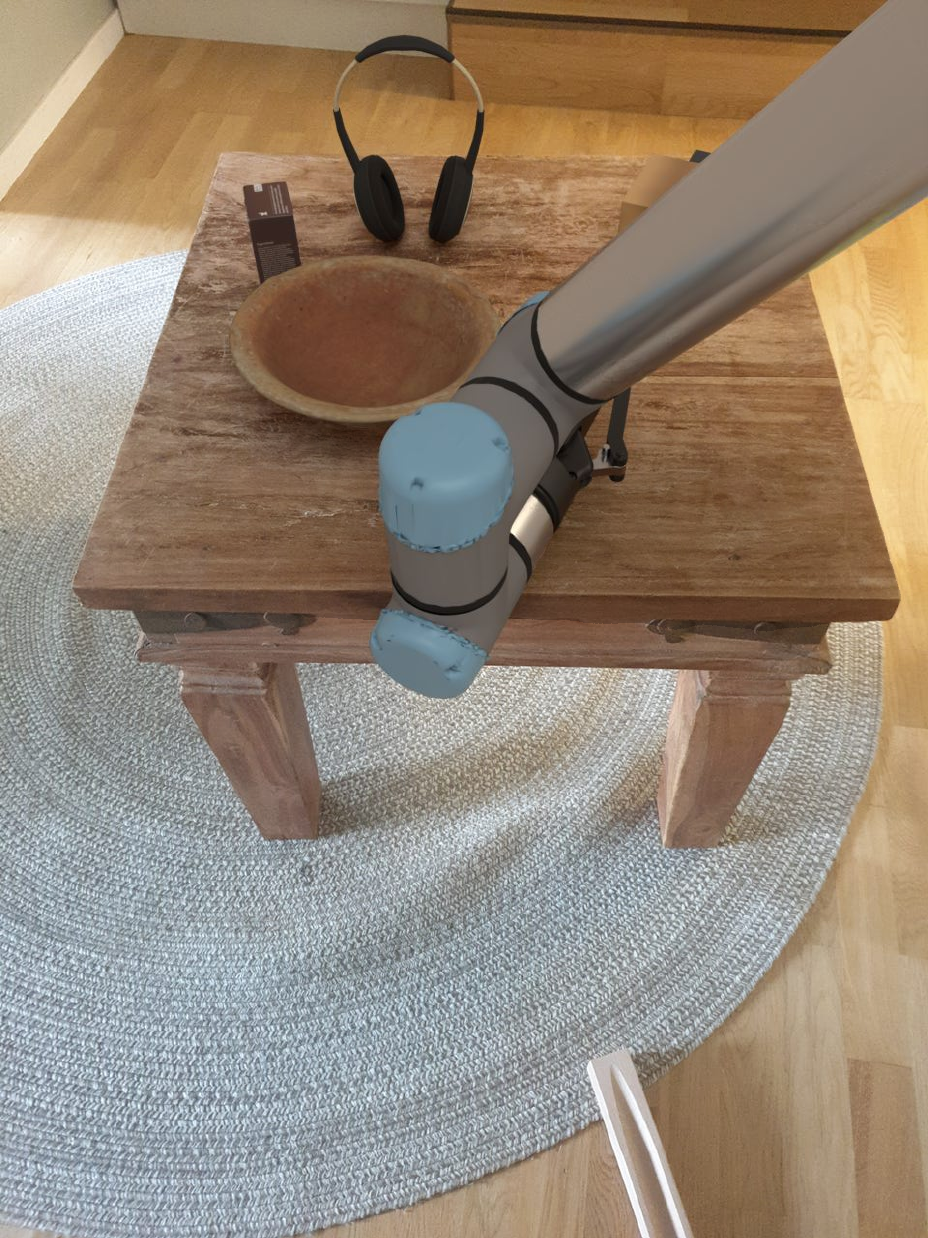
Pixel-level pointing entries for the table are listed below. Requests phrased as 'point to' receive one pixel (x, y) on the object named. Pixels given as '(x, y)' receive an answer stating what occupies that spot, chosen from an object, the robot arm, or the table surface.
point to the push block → (652, 185)
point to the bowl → (361, 338)
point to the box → (271, 228)
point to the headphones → (377, 180)
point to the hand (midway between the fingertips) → (620, 322)
